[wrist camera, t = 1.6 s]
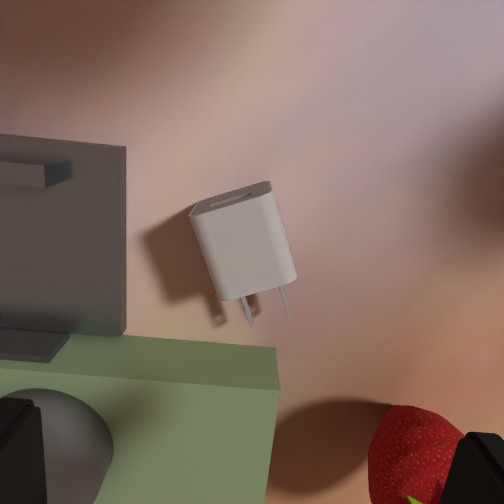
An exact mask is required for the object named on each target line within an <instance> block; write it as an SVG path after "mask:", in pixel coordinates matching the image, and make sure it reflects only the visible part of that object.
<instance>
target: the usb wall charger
mask: <svg viewBox="0 0 504 504" xmlns="http://www.w3.org/2000/svg"><path fill="white" fill-rule="evenodd" d="M188 216H189V219H190V222H191V224H192V227H193V230H194V233H195V235H196V238H197V241H198V244H199V246H200V249H201V252H202V255H203V257H204V260H205V263H206V266H207V269H208V271H209V274H210V277H211V280H212V282H213V285H214V288H215V291H216V293H217V296H218V299H219V300H221V301H229V300H233V299H237V298H240V297H241V300H242V303H243V306H244V309H245V312H246V315H247V318H248V320H249V323H250V326H251V327H253V318H252V315H251V312H250V309H249V306H248V303H247V300H246V297H245V296H247V295H251V294H255V293H258V292H262V291H265V290H269V289H272V288H276V287H279V290H280V293H281V296H282V299H283V303H284V306H285V309H286V312H287V316H288V317H290V312H289V308H288V304H287V301H286V298H285V294H284V291H283V288H282V286H283V285H286V284H289V283H291V282H292V281H294V280H295V279H296V278H297V274H296V270H295V267H294V263H293V260H292V256H291V253H290V249H289V246H288V242H287V239H286V235H285V232H284V228H283V225H282V221H281V218H280V214H279V211H278V207H277V204H276V200H275V197H274V194H273V190H272V187H271V184H270V181H264V182H260V183H256V184H253V185H250V186H246V187H243V188H240V189H237V190H233V191H230V192H227V193H223V194H220V195H217V196H214V197H210V198H207V199H204V200H202V201H199V202H198V203H196V204H195V206H194V207H193V209H192V210H191V212H190V213H189V215H188Z"/></svg>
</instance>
